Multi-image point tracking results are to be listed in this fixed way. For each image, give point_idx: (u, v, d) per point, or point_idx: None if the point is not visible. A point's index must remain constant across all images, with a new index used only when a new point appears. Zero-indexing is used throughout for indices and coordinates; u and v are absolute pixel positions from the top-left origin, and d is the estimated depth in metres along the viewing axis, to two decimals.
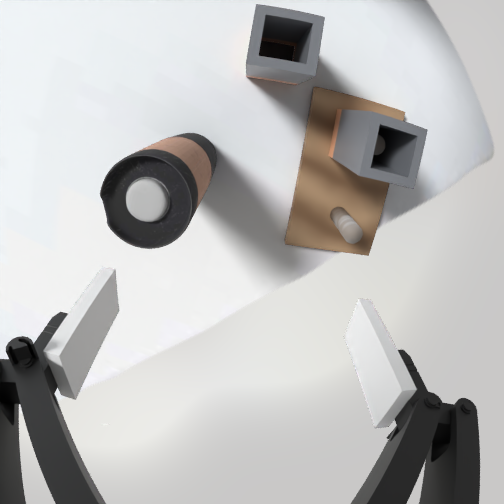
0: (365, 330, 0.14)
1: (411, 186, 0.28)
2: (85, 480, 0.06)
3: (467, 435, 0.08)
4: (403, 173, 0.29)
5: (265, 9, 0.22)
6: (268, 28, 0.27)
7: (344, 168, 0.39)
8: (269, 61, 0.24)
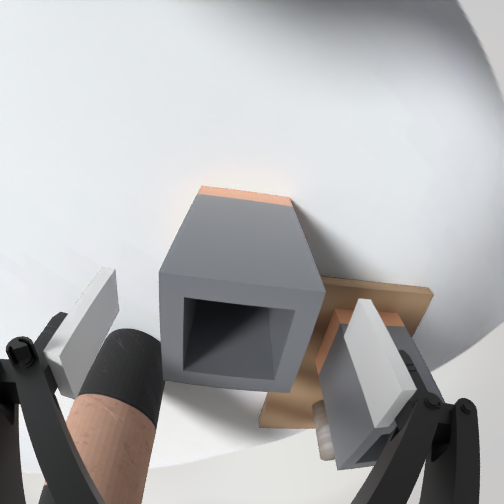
0: (365, 331, 0.14)
1: None
2: (85, 480, 0.06)
3: (467, 435, 0.08)
4: None
5: (181, 285, 0.12)
6: None
7: None
8: (204, 378, 0.14)
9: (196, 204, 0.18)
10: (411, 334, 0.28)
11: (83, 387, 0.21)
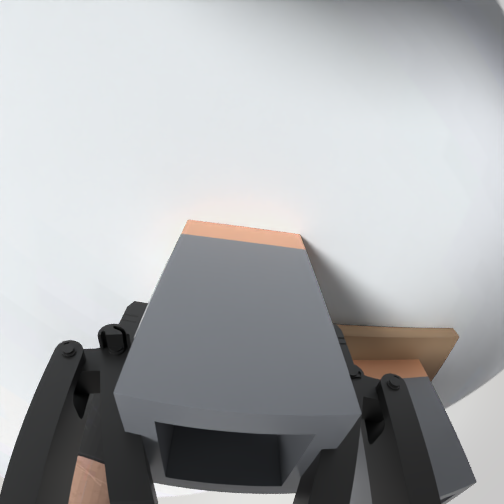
0: None
1: None
2: (147, 475, 0.06)
3: (402, 413, 0.09)
4: None
5: (149, 410, 0.07)
6: None
7: None
8: (193, 484, 0.09)
9: (178, 253, 0.14)
10: (431, 378, 0.23)
11: None
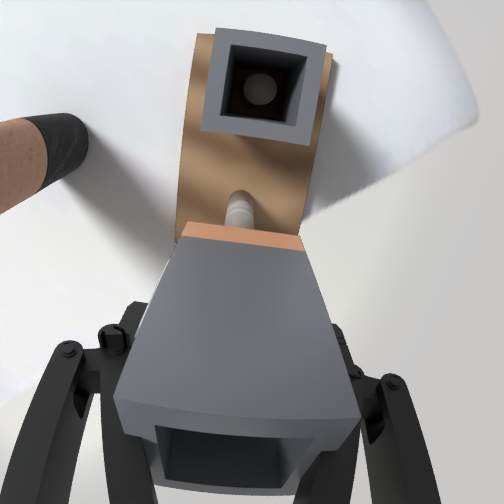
0: None
1: (304, 141, 0.17)
2: (147, 475, 0.06)
3: (402, 413, 0.09)
4: (293, 123, 0.18)
5: (148, 414, 0.07)
6: None
7: (243, 136, 0.28)
8: (193, 486, 0.09)
9: (177, 255, 0.14)
10: (322, 99, 0.27)
11: None
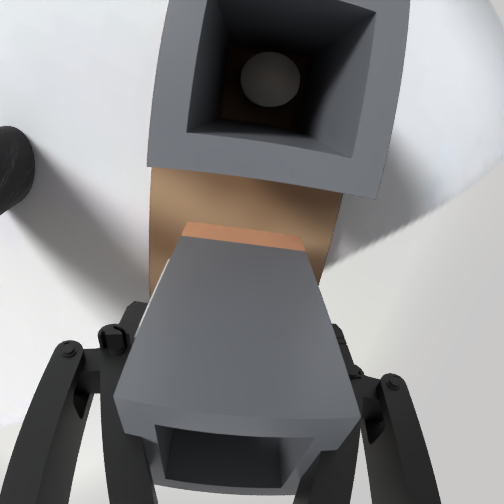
0: None
1: (367, 190, 0.08)
2: (147, 475, 0.06)
3: (402, 413, 0.09)
4: (341, 146, 0.09)
5: (149, 414, 0.07)
6: None
7: None
8: (193, 486, 0.09)
9: (177, 255, 0.14)
10: None
11: None
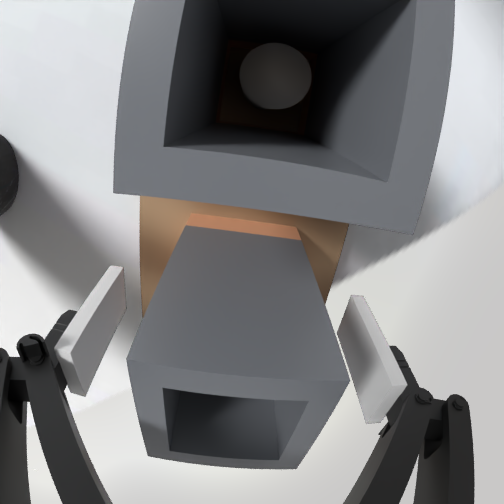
0: (357, 327, 0.15)
1: (403, 224, 0.06)
2: (92, 479, 0.06)
3: (460, 431, 0.08)
4: (369, 163, 0.07)
5: (158, 376, 0.08)
6: None
7: None
8: (195, 458, 0.10)
9: (183, 241, 0.15)
10: None
11: None
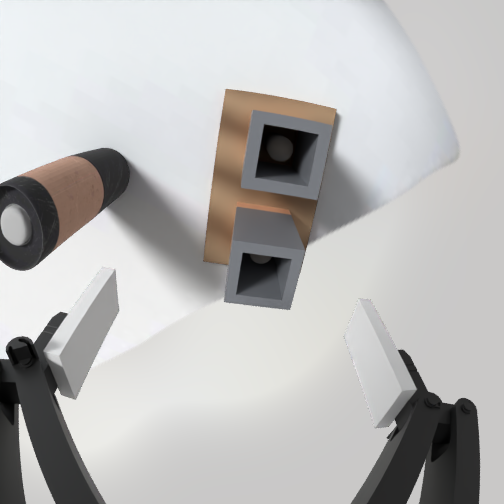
0: (365, 330, 0.14)
1: (314, 197, 0.25)
2: (85, 480, 0.06)
3: (467, 435, 0.08)
4: (306, 181, 0.26)
5: (242, 246, 0.27)
6: None
7: None
8: (246, 299, 0.29)
9: (238, 212, 0.34)
10: None
11: None
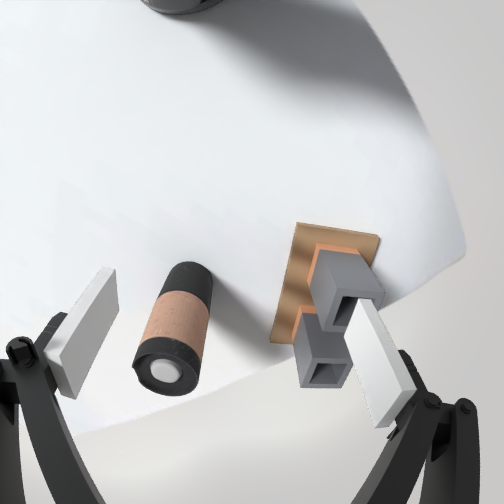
0: (365, 330, 0.14)
1: None
2: (85, 480, 0.06)
3: (467, 435, 0.08)
4: None
5: (317, 360, 0.39)
6: None
7: None
8: (315, 385, 0.42)
9: (305, 321, 0.46)
10: (369, 266, 0.47)
11: (163, 290, 0.40)
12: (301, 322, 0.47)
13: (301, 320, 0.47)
